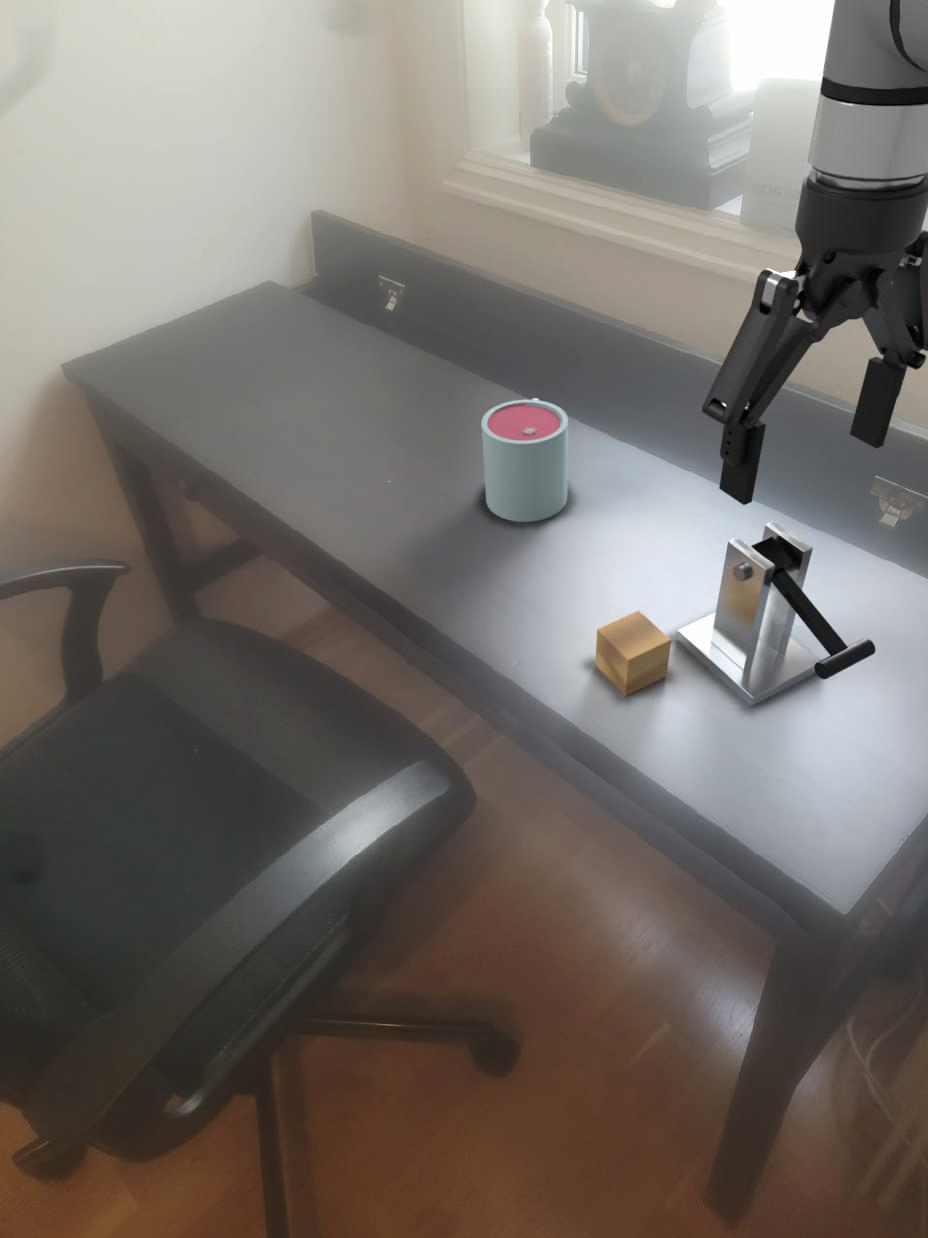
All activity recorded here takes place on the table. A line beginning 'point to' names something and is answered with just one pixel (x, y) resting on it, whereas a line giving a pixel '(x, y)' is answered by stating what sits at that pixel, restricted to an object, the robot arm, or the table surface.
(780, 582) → the lever
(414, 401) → the table surface
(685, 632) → the bracket
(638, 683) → the block
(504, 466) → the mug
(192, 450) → the table surface
